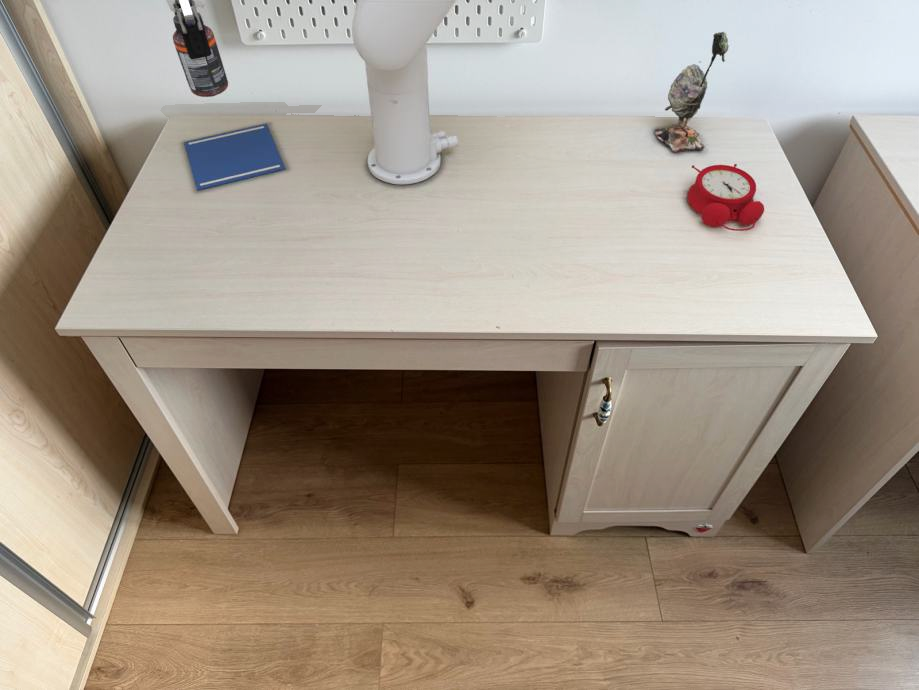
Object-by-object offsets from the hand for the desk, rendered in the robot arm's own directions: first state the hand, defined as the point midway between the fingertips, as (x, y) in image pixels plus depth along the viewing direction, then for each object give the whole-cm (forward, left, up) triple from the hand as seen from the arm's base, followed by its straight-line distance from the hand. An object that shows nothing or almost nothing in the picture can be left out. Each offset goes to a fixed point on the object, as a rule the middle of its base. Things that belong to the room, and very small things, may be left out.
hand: (196, 45), depth 101 cm
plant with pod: (-75, +23, -21) cm, 82 cm away
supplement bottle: (0, 0, -7) cm, 7 cm away
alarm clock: (-70, +43, -21) cm, 85 cm away
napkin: (0, -3, -21) cm, 21 cm away
